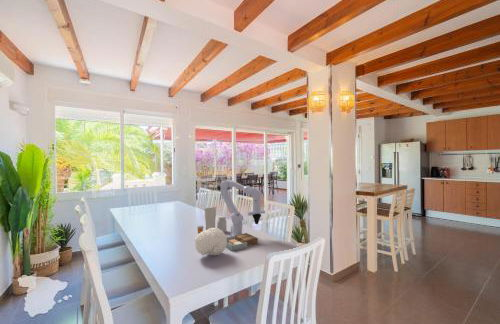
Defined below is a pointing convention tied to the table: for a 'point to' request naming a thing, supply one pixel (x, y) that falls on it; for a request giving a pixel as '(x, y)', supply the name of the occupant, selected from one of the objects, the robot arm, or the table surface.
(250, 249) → the table surface
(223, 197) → the robot arm
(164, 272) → the table surface
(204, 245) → the cauliflower
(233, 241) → the tile
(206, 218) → the toiletry set
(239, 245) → the tray
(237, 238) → the board
